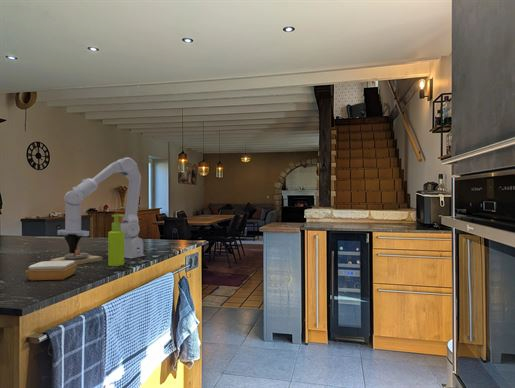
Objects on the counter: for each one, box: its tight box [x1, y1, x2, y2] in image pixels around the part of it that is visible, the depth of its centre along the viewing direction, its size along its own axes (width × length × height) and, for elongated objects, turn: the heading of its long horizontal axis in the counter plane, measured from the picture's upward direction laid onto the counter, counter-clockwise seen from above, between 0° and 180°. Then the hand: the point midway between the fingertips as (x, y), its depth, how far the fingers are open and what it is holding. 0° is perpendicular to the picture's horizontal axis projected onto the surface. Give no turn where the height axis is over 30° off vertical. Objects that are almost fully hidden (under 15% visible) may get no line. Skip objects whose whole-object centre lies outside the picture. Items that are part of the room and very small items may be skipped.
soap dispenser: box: [107, 213, 126, 267], centre depth 138 cm, size 6×7×20 cm
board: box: [49, 254, 103, 265], centre depth 145 cm, size 14×14×1 cm
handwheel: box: [63, 247, 90, 259], centre depth 145 cm, size 9×9×4 cm
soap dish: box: [24, 260, 79, 281], centre depth 117 cm, size 12×10×5 cm
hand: (73, 253), depth 142 cm, fingers closed, pressing on handwheel
